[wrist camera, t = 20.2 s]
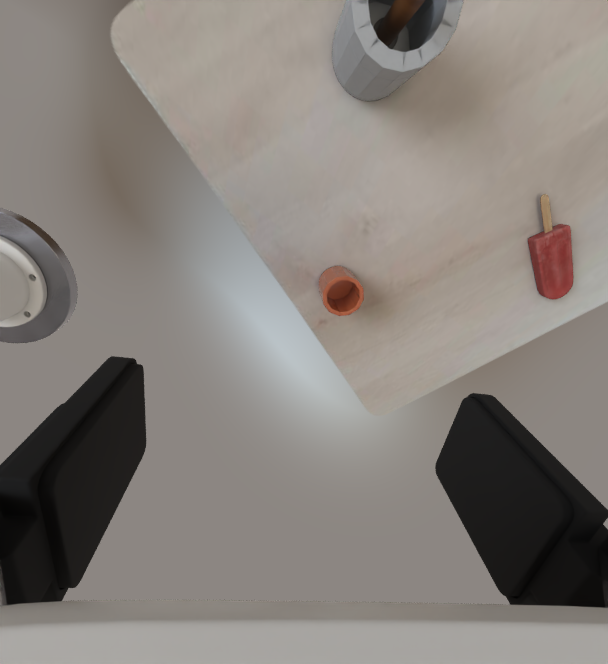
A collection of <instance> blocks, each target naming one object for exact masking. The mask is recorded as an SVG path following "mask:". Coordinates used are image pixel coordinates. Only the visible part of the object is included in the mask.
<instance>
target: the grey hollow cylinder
mask: <svg viewBox="0 0 608 664" xmlns="http://www.w3.org/2000/svg"><path fill="white" fill-rule="evenodd" d="M394 1H395V0H346V3H345V5H344V8H343V11H342V14H341V17H340V19H339V22H338V25H337V28H336V31H335V36H334V41H333V47H332V60H333V66H334V70H335V73H336V76H337V78H338V80H339V82H340V84H341V85H342V87H343V88H344V89H345V90H346V91H347V92H348V93H349V94H350V95H352V96H353V97H355V98H357V99H360V100H365V101H374V100H379V99H382V98H384V97H387V96H388V95H389V94H391V93H392V92H393V91H394V90H396V89H397V88H398V87H399V86H401V85H402V84H403V83H404V82H406V81H407V80H408V79H409V78H411V77H412V76H413V75H414V74H415V73H417V72H418V71H419V70H420V69H422V68H423V67H424V66H425V65H427V64H428V63H429V62H430V61H432V60H433V59H434V58H435V57H436V56H438V55H439V54H440V53H441V52H442V51H443V49H444V48H445V46H446V45H447V43H448V41H449V40H450V38H451V37H452V35H453V33H454V32H455V30H456V27H457V24H458V20H459V16H460V13H461V9H462V5H463V0H425V1H424V3H423V4H422V5H421V6H420V8H419V9H418V10H417V12H416V13H415V14H414V15H413V17H412V18H411V19H410V20H409V22H408V23H407V24H406V25H405V27H404V28H403V29H402V30H401V32H400V33H399V36H398V41H397V43H396V45H395V46H394V48H393V49H389V48H388V47H387V46H386V45H385V44H384V43H383V42H381V41H380V40H379V39H378V37H377V35H376V33H375V31H374V28H373V26H374V25H375V23H376V22H377V21H378V20H379V19H381V18H383V17H385V16H386V14H387V12H388V11H389V9H390V8H391V6H392V4H393V3H394Z"/></svg>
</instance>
